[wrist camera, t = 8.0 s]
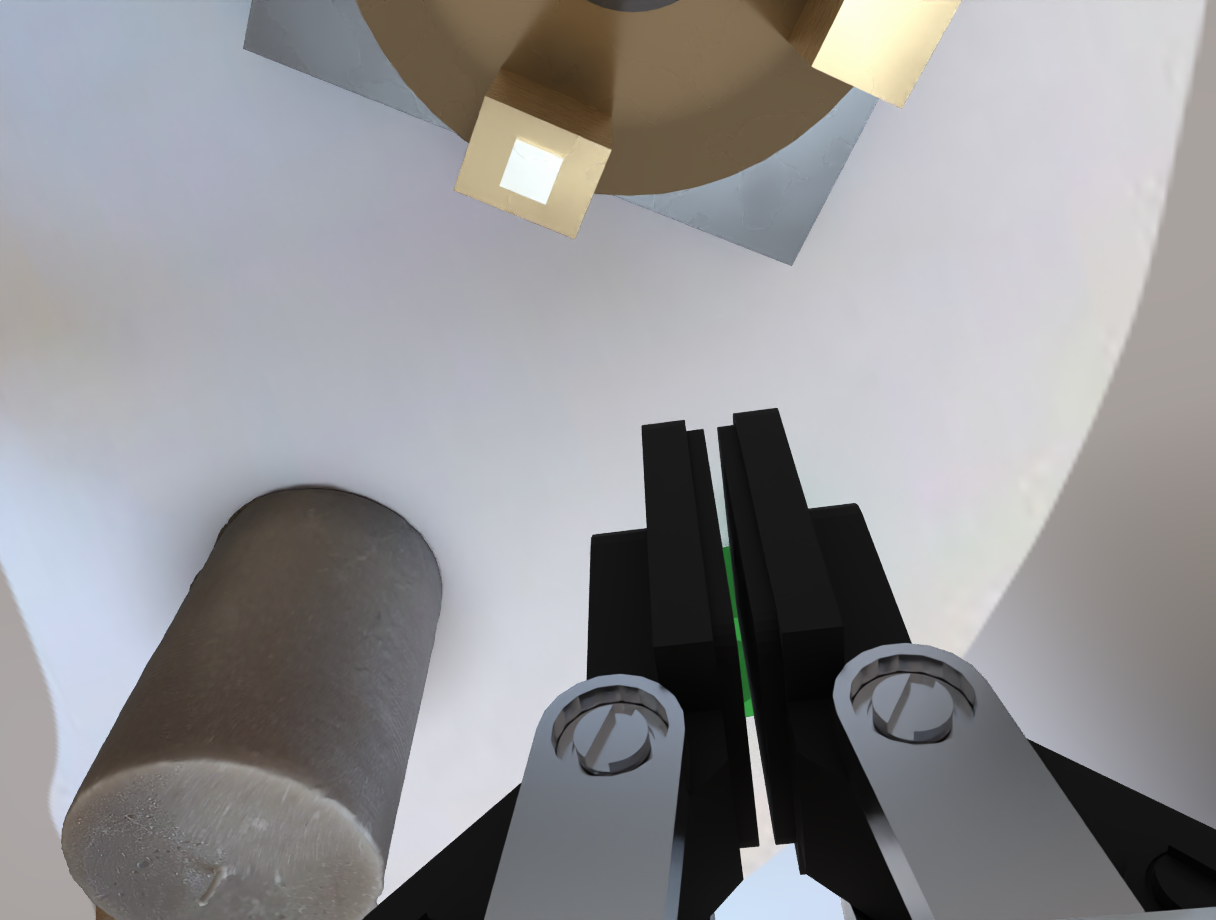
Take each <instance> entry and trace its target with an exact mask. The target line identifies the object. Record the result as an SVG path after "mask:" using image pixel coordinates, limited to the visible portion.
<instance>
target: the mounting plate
mask: <svg viewBox="0 0 1216 920" xmlns="http://www.w3.org/2000/svg"><path fill="white" fill-rule="evenodd" d="M243 49H245V50H248V51H251V52H253V53H256V54H258V55H261V56H263V57H266V58H268V59H271V60H273V61H276V62H278V63H281V64H283V65H286V66H288V67H291V68H293V69H296V70H298V71H301V72H304V73H306V74H309V75H311V76H314V77H316V78H319V79H321V80H324V81H326V82H329V83H331V84H334V85H336V86H339V87H341V88H344V89H346V90H349V91H351V92H354V93H356V94H359V95H362V96H364V97H367V98H369V99H372V100H374V101H377V102H379V103H382V104H384V105H387V106H389V107H392V108H394V109H397V110H399V111H402V112H404V113H407V114H409V115H412V116H414V117H417V118H420V119H422V120H425V121H427V122H430V123H432V124H435V125H437V126H440V127H442V128H445V129H447V130H450V131H452V132H454V131H453V130H452V129H450V128H449V127H448V126H447V125H446V124H445V123H443V122H442V121H441V120H440V119H439V118H437V117H436V116H435V115H434V114H433V113H432V112H431V111H430V110H429V109H428V108H427V107H426V105H425V104H424V103H423V102H422V101H421V100H420V99H419V98H418V97H417V96H416V95H415V94H414V93H413V91H412V90H411V89H410V88H409V87H408V86H407V85H406V83H405V82H404V81H403V79H402V78H401V77H400V75H399V74H398V72H397V71H396V70H395V68H394V67H393V66H392V64H391V63H390V62H389V60H388V59H387V57H386V56H385V55H384V53H383V52H382V50H381V48H380V46H379V45H378V43H377V41H376V39H375V38H374V36H373V34H372V32H371V31H370V29H369V27H368V25H367V24H366V22H365V20H364V18H363V17H362V14H361V12H360V10H359V7H358V5H357V3H356V0H252V4H251V9H250V15H249V20H248V25H247V31H246V36H245V41H244V47H243ZM878 99H879V98H878V97H875V96H873V95H871V94H869V93H867V92H865V91H863V90H860V89H858V88H856V87H853V88H852V89H851V90H850V91H849V92H848V93H847V94H846V95H845V96H844V97H843V98H842V99H841V100H840V101H839V103H838V104H837V105H836V106H835V107H834V108H833V109H832V110H831V111H830V112H829V113H828V114H827V115H826V116H825V117H824V118H822V119H821V120H820V121H819V122H818V123H816V124H815V125H814V126H813V127H811V128H810V129H809V130H808V131H807V132H805V133H804V134H803V135H802V136H800V137H799V138H798V139H797V140H796V141H794V142H792V143H791V144H789V145H788V146H786V147H785V148H783V149H781V150H780V151H778V152H777V153H775V154H774V155H772V156H770V157H769V158H767V159H766V160H764V161H762V162H760V163H758V164H756V165H754V166H752V167H749V168H747V169H745V170H743V171H741V172H739V173H737V174H735V175H733V176H730V177H727V178H724V179H721V180H718V181H715V182H712V183H709V184H706V185H703V186H700V187H696V188H691V189H686V190H680V191H675V192H670V193H665V194H652V195H635V196H622V195H614V196H616V197H619V198H621V199H624V200H626V201H629V202H631V203H634V204H636V205H639V206H642V207H644V208H647V209H649V210H652V211H654V212H657V213H659V214H662V215H664V216H667V217H669V218H672V219H674V220H677V221H679V222H682V223H684V224H687V225H689V226H692V227H694V228H697V229H700V230H702V231H705V232H707V233H710V234H712V235H715V236H717V237H720V238H722V239H725V240H727V241H730V242H732V243H735V244H737V245H740V246H742V247H745V248H747V249H750V250H753V251H755V252H758V253H760V254H763V255H765V256H768V257H770V258H773V259H775V260H778V261H780V262H783V263H785V264H788V265H790V266H792V265H793V263H794V261H795V259H796V257H797V255H798V253H799V251H800V249H801V247H802V245H803V243H804V241H805V240H806V238H807V236H808V234H809V232H810V230H811V228H812V226H813V224H814V222H815V220H816V218H817V216H818V215H819V213H820V211H821V209H822V207H823V205H824V203H825V201H826V199H827V197H828V195H829V193H830V191H831V190H832V188H833V186H834V184H835V182H836V180H837V178H838V176H839V174H840V172H841V170H842V168H843V166H844V164H845V163H846V161H847V159H848V157H849V155H850V153H851V151H852V149H853V147H854V145H855V143H856V141H857V139H858V138H859V136H860V134H861V132H862V130H863V128H864V126H865V124H866V122H867V120H868V118H869V116H870V114H871V113H872V111H873V109H874V107H875V105H876V103H877V101H878Z"/></svg>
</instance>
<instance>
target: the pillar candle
mask: <svg viewBox="0 0 1216 920" xmlns="http://www.w3.org/2000/svg"><path fill="white" fill-rule="evenodd" d="M441 598H442V585H441V579H440V573H439V569H438V566H437V563H436V560H435V557H434V555H433V554H432V552H431V550H430V549H429V546H428V545H427V544H426V542H425V541H424V539H423V538H422V537H421V535H420V534H418V532H417V531H416V530H415V529H414V528H412V527H411V526H410V525H409V524H407V522H406V521H404V520H403V519H402V518H401V517H400V516H399V515H397V514H396V513H394V512H392V511H391V510H389V509H388V508H386V507H383V506H381V505H379V504H377V503H375V502H373V501H370V500H368V499H366V498H363V497H357V496H356V495H352V494H348V493H345V492H339V491H336V490H323V489H305V490H289V491H282V492H277V493H272V494H269V495H266V496H263V497H260V498H257V499H255V500H253V501H252V502H250V503H249V504H248V505H245V506H243V507H242V508H241V509H240V510H238V511H237V512H236V513H235V514H234V515H233V516H232V517H231V518H230V519H229V521H228V525H225V526H224V528H222V529H221V531H220V533H219V535H218V538H217V541H216V543H215V545H214V548H213V550H212V552H211V554H210V556H209V558H208V560H207V562H206V563H205V565H204V567H203V569H202V570H201V571H200V572H199V573H198V574H197V575H196V577H195V579H194V581H193V583H192V584H191V585H190V591H189V593H188V594H187V596H186V598H185V599H184V601H183V603H182V605H181V606H180V608H179V610H178V612H177V614H176V616H175V618H174V620H173V621H172V623H171V625H170V626H169V628H168V630H167V631H166V633H165V635H164V637H163V639H162V641H161V643H160V644H159V646H158V647H157V649H156V650H155V652H154V654H153V655H152V657H151V658H150V660H149V662H148V663H147V665H146V667H145V669H144V671H143V672H142V675H141V677H140V679H139V680H138V682H137V684H136V686H135V688H134V689H133V691H132V693H131V694H130V696H129V698H128V700H127V701H126V703H125V705H124V707H123V708H122V710H121V712H120V714H119V716H118V718H117V720H116V722H115V724H114V726H113V728H112V729H111V731H110V733H109V735H108V737H107V739H106V740H105V742H104V744H103V745H102V747H101V749H100V751H99V753H98V755H97V757H96V759H95V760H94V762H93V764H92V766H91V767H90V769H89V771H88V773H87V775H86V777H85V779H84V780H83V782H82V784H81V786H80V788H79V790H78V792H77V794H76V796H75V798H74V800H73V802H72V804H71V806H70V808H69V810H68V812H67V815H66V817H65V820H64V823H63V828H62V840H61V843H62V850H63V853H64V857H65V859H66V861H67V865H68V867H69V871H70V874H71V875H72V877H73V879H74V880H75V881H76V882H77V883H78V885H79V886H80V887H81V888H82V889H83V890H84V892H85V893H86V895H87V896H88V897H89V898H90V899H91V901H92V902H93V903H95V904H96V905H97V906H98V907H99V908H100V909H102V910H103V911H104V912H106V913H107V914H108V915H110V916H112V917H113V918H115V919H116V920H362V919H363V918H364V917H365V916H366V915H367V914H368V913H370V912H371V911H372V910H373V909H374V908H375V907H377V906H378V905H377V902H376V900H377V898H378V896H380V895H381V894H382V891H383V889H384V874H385V869H386V865H387V859H388V854H389V848H390V844H391V838H392V834H393V829H394V824H395V819H396V814H397V810H398V806H399V802H400V797H401V791H402V787H403V783H404V779H405V773H406V769H407V764H408V759H409V755H410V750H411V745H412V741H413V736H414V732H415V727H416V723H417V718H418V714H419V709H420V705H421V700H422V696H423V691H424V686H425V682H426V677H427V672H428V667H429V662H430V657H431V653H432V649H433V644H434V640H435V632H436V626H437V622H438V618H439V615H440V609H441Z"/></svg>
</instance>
